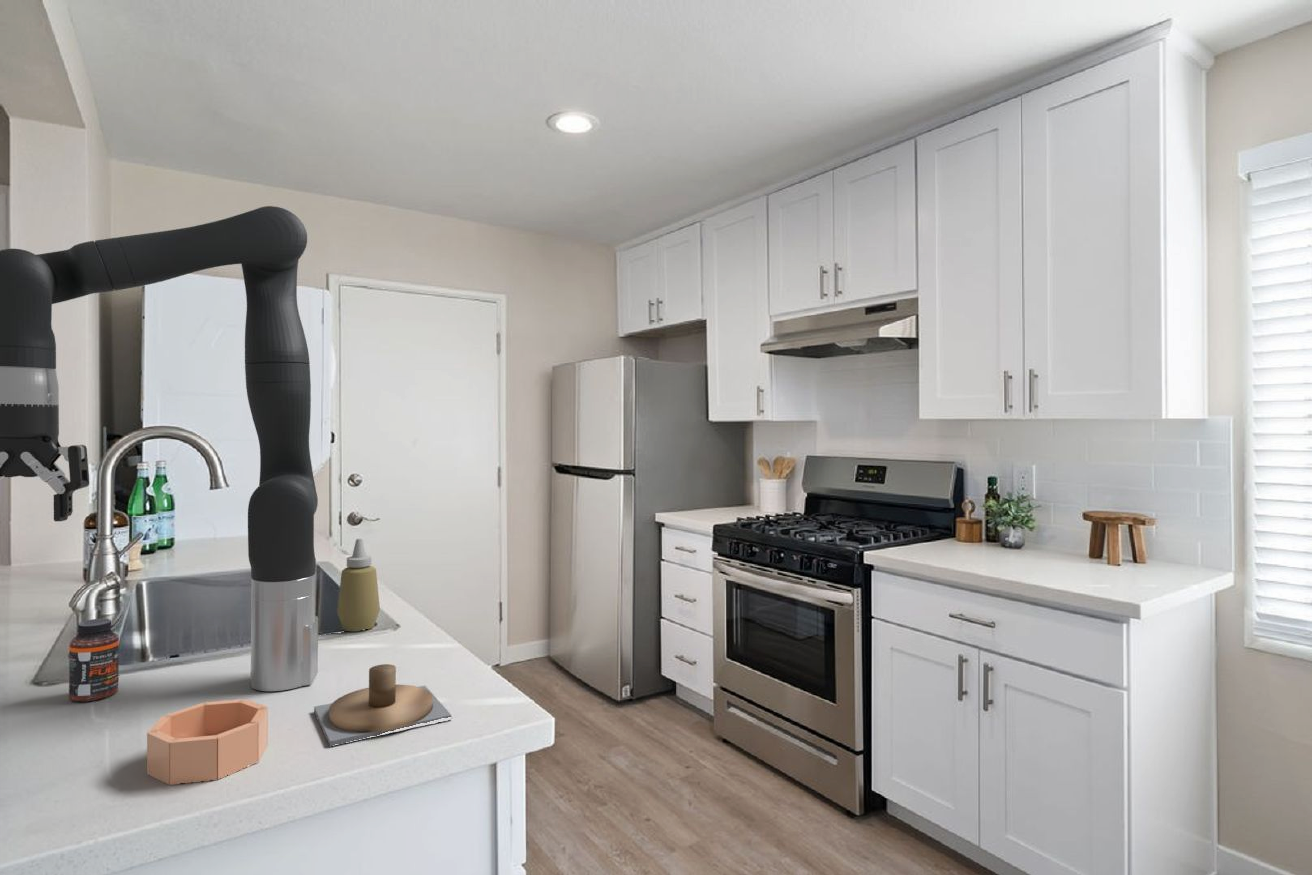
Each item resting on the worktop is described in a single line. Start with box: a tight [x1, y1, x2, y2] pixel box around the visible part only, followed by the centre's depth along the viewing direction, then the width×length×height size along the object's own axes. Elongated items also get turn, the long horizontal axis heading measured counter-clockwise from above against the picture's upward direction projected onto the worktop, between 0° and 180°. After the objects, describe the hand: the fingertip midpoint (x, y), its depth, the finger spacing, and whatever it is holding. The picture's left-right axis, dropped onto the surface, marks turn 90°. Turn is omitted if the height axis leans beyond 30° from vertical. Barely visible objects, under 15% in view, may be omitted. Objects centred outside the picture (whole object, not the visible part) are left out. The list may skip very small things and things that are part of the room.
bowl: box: [146, 698, 269, 786], centre depth 90 cm, size 12×12×5 cm
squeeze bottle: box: [336, 538, 381, 632], centre depth 145 cm, size 8×8×18 cm
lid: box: [329, 663, 433, 732], centre depth 103 cm, size 14×14×6 cm
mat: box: [313, 685, 452, 747], centre depth 104 cm, size 16×13×1 cm
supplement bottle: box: [68, 618, 120, 703], centre depth 109 cm, size 6×6×11 cm
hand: (23, 521), depth 97 cm, fingers open, 8 cm apart
